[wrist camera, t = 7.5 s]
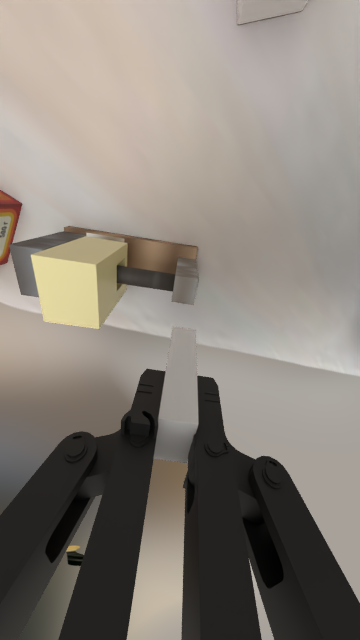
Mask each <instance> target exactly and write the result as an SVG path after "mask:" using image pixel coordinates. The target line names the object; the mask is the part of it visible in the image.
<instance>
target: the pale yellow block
mask: <svg viewBox="0 0 360 640" xmlns="http://www.w3.org/2000/svg"><path fill="white" fill-rule="evenodd" d="M127 248H128V243H125V242H118V241H112V240H106V239H100V238H93V237H87V236H85V237H82V238H79V239H76V240H73V241H70V242H67V243H64V244H61V245H58V246H55V247H52V248H49V249H46V250H43V251H40V252H37V253H34V254H31V259H32V264H33V269H34V274H35V279H36V284H37V289H38V294H39V299H40V304H41V309H42V314H43V319H44V321H45V322H52V323H59V324H66V325H74V326H81V327H88V328H95V329H100V327H101V326H102V325H103V323H104V322H105V320H106V319H107V317H108V316H109V314H110V313H111V311H112V310H113V309H114V307H115V306H116V304H117V303H118V301H119V300H120V298H121V297H122V295H123V294H124V293H125V291H126V290H127V284H120V283H117V265H119V266H126V267H127Z"/></svg>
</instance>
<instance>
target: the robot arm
mask: <svg viewBox="0 0 360 640" xmlns="http://www.w3.org/2000/svg"><path fill="white" fill-rule="evenodd" d="M153 459H161V460H168V461H175V462H183V463H187V460H188V472H187V475H186V478H185V481H184V485H183V488H185V489H186V490H185V492H186V493H185V527H184V565H183V606H182V607H183V608H182V640H262V639H261V633H260V628H259V627H260V626H259V620H258V614H257V608H256V601H255V595H254V588H253V582H252V576H251V570H250V563H251V566H252V570H253V573H254V576H255V579H256V582H257V586H258V589H259V592H260V595H261V598H262V602H263V605H264V608H265V611H266V614H267V618H268V621H269V624H270V627H271V630H272V633H273V637H274V640H360V603H359V601H358V599H357V597H356V596H355V594H354V592H353V590H352V588H351V586H350V585H349V583H348V581H347V579H346V577H345V575H344V574H343V572H342V570H341V568H340V567H339V565H338V563H337V561H336V559H335V557H334V556H333V554H332V552H331V550H330V548H329V547H328V545H327V543H326V541H325V539H324V537H323V535H322V534H321V532H320V530H319V528H318V526H317V525H316V523H315V521H314V519H313V517H312V515H311V514H310V512H309V510H308V508H307V507H306V504H305V503H304V501H303V499H302V497H301V495H300V494H299V492H298V490H297V488H296V486H295V484H294V483H293V481H292V479H291V477H290V475H289V474H288V472H287V471H286V470H285V468H284V467H283V465H281V464H280V463H279V462H278V461H277V460H275V459H273V458H271V457H269V456H261V457H259V458H257V459H256V460H255V459H253V458H251V457H249V456H247V455H245V454H243V453H241V452H239V451H237V450H236V449H235V448H234V447H233V446H232V445H231V444H230V443H229V442H228V440H227V438H226V436H225V432H224V426H223V419H222V412H221V405H220V397H219V390H218V385H217V384H216V382H215V380H214V379H213V378H209V377H203V376H197V353H196V330H193V329H187V328H180V327H174V326H173V328H172V335H171V341H170V347H169V354H168V360H167V366H166V372H165V371H158V370H152V369H146V371H145V372H144V373H143V374H142V375H141V377H140V381H139V384H138V387H137V391H136V394H135V398H134V401H133V404H132V408H131V410H130V411H129V412H127V413H126V414H125V415H124V417H123V418H122V420H121V429H120V430H119V431H117V432H115V433H113V434H110V435H106V436H101V437H96V438H95V437H94V436H93V435H91V434H90V433H88V432H76V433H73V434H71V435H69V436H67V437H66V438H65V439H64V440H62V441H61V442H60V443H59V444H58V446H57V447H56V448H55V450H54V451H53V452H52V453H51V454H50V455H49V457H48V458H47V459H46V460H45V462H44V463H43V464H42V465H41V466H40V468H39V469H38V470H37V471H36V472H35V474H34V475H33V476H32V477H31V479H30V480H29V481H28V482H27V483H26V485H25V486H24V487H23V488H22V490H21V491H20V492H19V493H18V494H17V496H16V497H15V498H14V499H13V501H12V502H11V503H10V504H9V506H8V507H7V508H6V509H5V510H4V511H3V513H2V514H1V515H0V640H18V639H19V637H20V635H21V633H22V631H23V629H24V627H25V626H26V624H27V622H28V620H29V618H30V616H31V614H32V612H33V611H34V609H35V607H36V605H37V603H38V601H39V600H40V598H41V596H42V594H43V592H44V590H45V589H46V587H47V585H48V583H49V581H50V579H51V577H52V576H53V574H54V572H55V570H56V568H57V566H58V565H59V563H60V561H61V559H62V557H63V555H64V553H65V552H66V550H67V548H68V546H69V544H70V542H71V541H72V539H73V537H74V535H75V533H76V531H77V529H78V528H79V526H80V524H81V522H82V520H83V518H84V517H85V515H86V513H87V511H88V509H89V507H90V505H91V503H92V502H93V500H94V498H95V496H98V495H102V494H103V495H102V499H101V502H100V505H99V508H98V512H97V515H96V518H95V521H94V525H93V528H92V531H91V535H90V538H89V541H88V544H87V548H86V551H85V554H84V558H83V561H82V564H81V567H80V571H79V574H78V577H77V581H76V584H75V587H74V590H73V594H72V597H71V600H70V604H69V607H68V610H67V613H66V617H65V620H64V624H63V627H62V630H61V633H60V637H59V640H126V639H127V632H128V626H129V619H130V612H131V606H132V599H133V592H134V586H135V579H136V571H137V565H138V559H139V552H140V545H141V539H142V532H143V525H144V519H145V512H146V505H147V498H148V492H149V485H150V478H151V472H152V465H153ZM249 560H250V563H249Z"/></svg>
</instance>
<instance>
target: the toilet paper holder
mask: <svg viewBox="0 0 360 640" xmlns="http://www.w3.org/2000/svg"><path fill="white" fill-rule="evenodd" d="M85 236H87V237H93V238H100V239H106V240H112V241H118V242H125V243H128V248H127V267H126V266H119V265H117V283H120V284H127V285H133V286H140V287H147V288H153V289H160V290H167V291H173V295H172V302H177V303H184V304H191V305H194V301H195V296H196V291H197V286H198V281H199V277H198V270H197V264H196V256H197V251H198V247H196V246H190V245H183V244H177V243H171V242H165V241H159V240H152V239H146V238H140V237H134V236H127V235H121V234H115V233H109V232H103V231H96V230H90V229H84V228H78V227H71V226H68V227H64V232H60V233H55V234H51V235H47V236H43V237H39V238H34V239H30V240H26V241H22V242H18V243H13V244H9V247H10V251H11V255H12V260H13V264H14V268H15V272H16V276H17V280H18V284H19V288H20V292H21V295H27V296H34V297H39V294H38V289H37V284H36V279H35V274H34V269H33V264H32V259H31V254H34V253H37V252H40V251H43V250H46V249H49V248H52V247H55V246H58V245H61V244H64V243H67V242H70V241H73V240H76V239H79V238H82V237H85Z"/></svg>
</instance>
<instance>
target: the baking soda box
mask: <svg viewBox="0 0 360 640" xmlns="http://www.w3.org/2000/svg"><path fill="white" fill-rule="evenodd" d="M21 207H22V203H20V202H19V201H17V200H15V199H14V198H12V197H11V196H9V195H8V194H6V193H4V192H3V191H1V190H0V265H2V264H5V263H7V261H8V257H9V253H10V247H9V244H12V242H13V238H14V234H15V230H16V226H17V222H18V219H19V215H20V211H21Z"/></svg>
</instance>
